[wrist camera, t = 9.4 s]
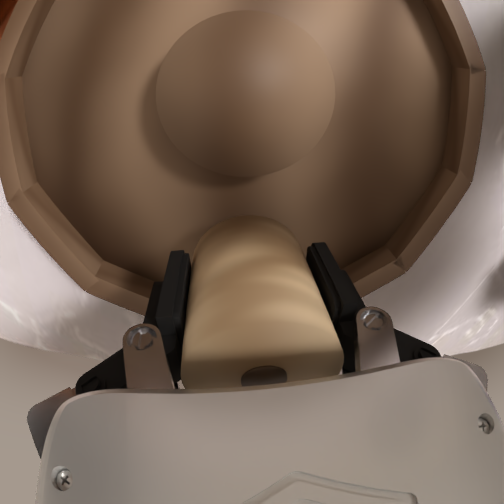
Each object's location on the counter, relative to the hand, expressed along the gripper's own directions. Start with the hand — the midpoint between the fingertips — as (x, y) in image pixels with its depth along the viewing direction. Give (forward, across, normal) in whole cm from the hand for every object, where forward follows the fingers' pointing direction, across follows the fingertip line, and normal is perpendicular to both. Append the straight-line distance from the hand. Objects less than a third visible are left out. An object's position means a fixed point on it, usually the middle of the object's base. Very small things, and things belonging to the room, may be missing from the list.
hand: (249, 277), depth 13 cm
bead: (+1, 0, 0) cm, 1 cm away
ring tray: (+4, 0, -7) cm, 8 cm away
